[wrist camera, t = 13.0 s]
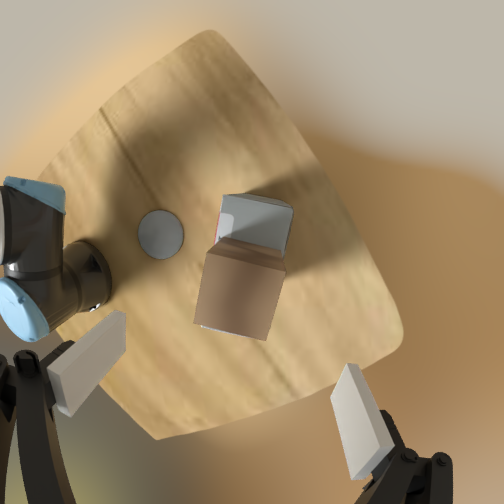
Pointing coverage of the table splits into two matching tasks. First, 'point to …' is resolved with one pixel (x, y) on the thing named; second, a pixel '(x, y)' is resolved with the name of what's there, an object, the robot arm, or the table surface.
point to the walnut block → (240, 288)
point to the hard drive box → (254, 222)
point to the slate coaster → (160, 234)
